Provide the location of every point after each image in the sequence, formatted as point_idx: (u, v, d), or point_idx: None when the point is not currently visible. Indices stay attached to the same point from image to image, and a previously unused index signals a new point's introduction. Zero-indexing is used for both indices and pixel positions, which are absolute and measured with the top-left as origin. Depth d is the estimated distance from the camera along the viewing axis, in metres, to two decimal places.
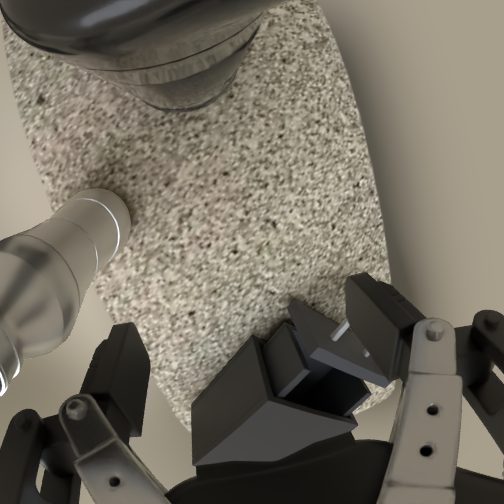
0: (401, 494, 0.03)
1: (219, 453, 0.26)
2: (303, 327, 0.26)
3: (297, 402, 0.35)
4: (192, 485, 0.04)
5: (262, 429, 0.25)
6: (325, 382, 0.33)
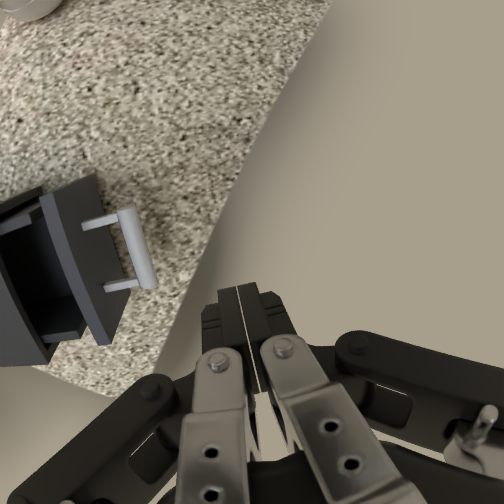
0: (401, 494, 0.03)
1: None
2: (67, 184, 0.18)
3: (29, 303, 0.25)
4: None
5: None
6: (62, 300, 0.24)
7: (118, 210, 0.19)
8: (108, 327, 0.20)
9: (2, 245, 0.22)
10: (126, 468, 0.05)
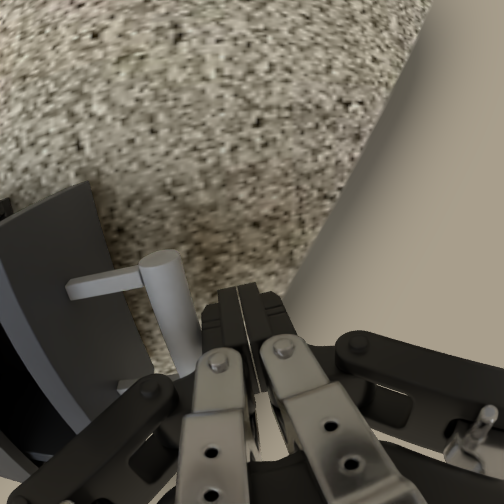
0: (401, 494, 0.03)
1: None
2: (35, 204, 0.08)
3: (4, 372, 0.14)
4: None
5: None
6: None
7: (143, 265, 0.09)
8: None
9: None
10: (126, 468, 0.05)
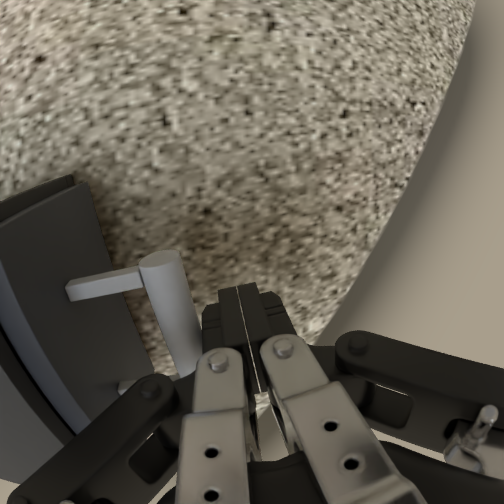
0: (401, 494, 0.03)
1: None
2: (34, 205, 0.08)
3: None
4: None
5: None
6: None
7: (143, 266, 0.09)
8: None
9: None
10: (126, 468, 0.05)
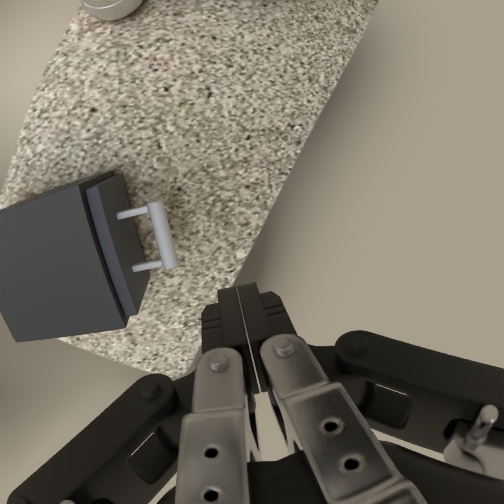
0: (401, 494, 0.03)
1: None
2: (104, 181, 0.24)
3: None
4: None
5: (46, 224, 0.20)
6: None
7: (149, 203, 0.24)
8: (135, 300, 0.25)
9: None
10: (126, 468, 0.05)
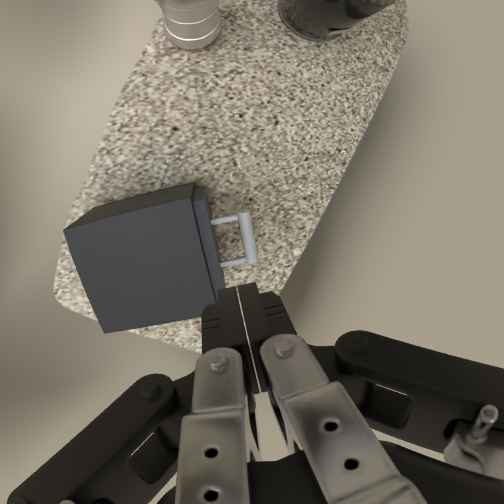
0: (401, 494, 0.03)
1: (98, 230, 0.27)
2: (199, 193, 0.31)
3: None
4: None
5: (156, 229, 0.28)
6: None
7: (239, 212, 0.32)
8: None
9: None
10: (126, 468, 0.05)
